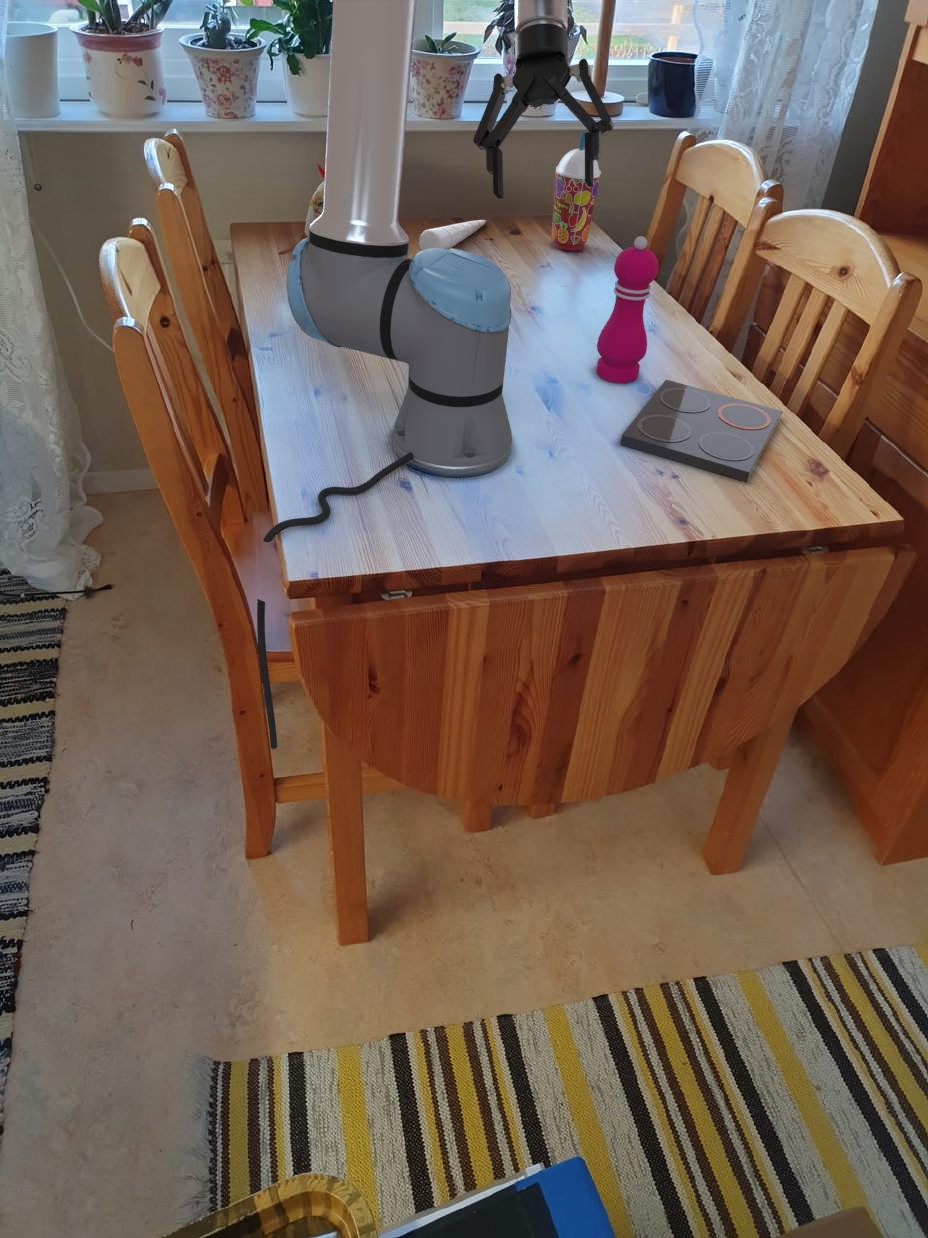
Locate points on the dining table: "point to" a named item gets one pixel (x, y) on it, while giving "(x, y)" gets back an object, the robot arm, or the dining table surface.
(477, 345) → the robot arm
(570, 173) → the smoothie
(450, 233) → the unicorn horn
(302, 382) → the dining table surface
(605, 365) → the pepper mill
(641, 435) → the hob
